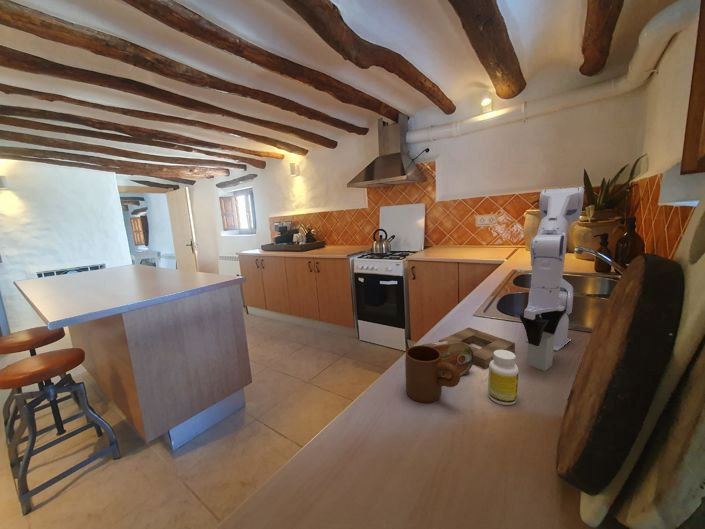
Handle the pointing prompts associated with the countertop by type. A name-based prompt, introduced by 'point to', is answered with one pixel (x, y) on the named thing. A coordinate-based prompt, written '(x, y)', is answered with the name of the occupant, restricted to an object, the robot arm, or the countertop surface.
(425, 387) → the mug
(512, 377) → the supplement bottle
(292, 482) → the countertop surface
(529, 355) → the peg
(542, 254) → the robot arm
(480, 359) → the collar
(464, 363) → the tin
